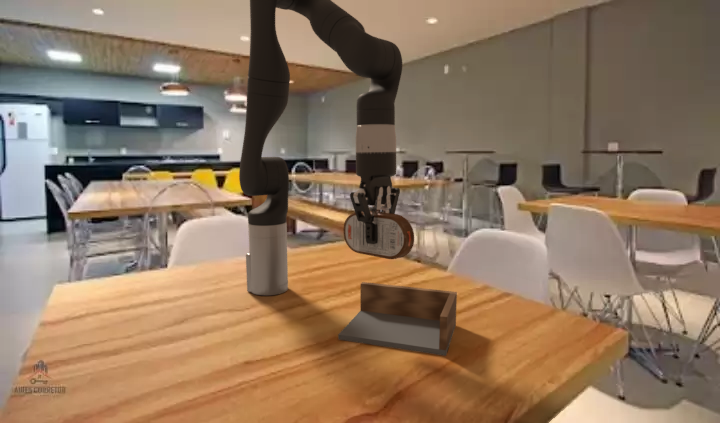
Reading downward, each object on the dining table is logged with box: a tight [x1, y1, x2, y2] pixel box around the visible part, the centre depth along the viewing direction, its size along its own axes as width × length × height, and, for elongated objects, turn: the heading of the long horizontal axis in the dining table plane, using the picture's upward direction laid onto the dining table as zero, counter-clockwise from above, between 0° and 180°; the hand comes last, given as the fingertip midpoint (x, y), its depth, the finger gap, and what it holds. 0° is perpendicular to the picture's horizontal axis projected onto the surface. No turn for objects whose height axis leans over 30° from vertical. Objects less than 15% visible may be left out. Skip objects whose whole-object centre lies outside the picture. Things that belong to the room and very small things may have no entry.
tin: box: [342, 211, 415, 260], centre depth 84 cm, size 15×3×8 cm, turn 53°
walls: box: [360, 281, 458, 350], centre depth 86 cm, size 20×14×6 cm
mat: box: [337, 310, 457, 357], centre depth 86 cm, size 20×14×1 cm
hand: (376, 241), depth 84 cm, fingers closed on tin, 2 cm apart
